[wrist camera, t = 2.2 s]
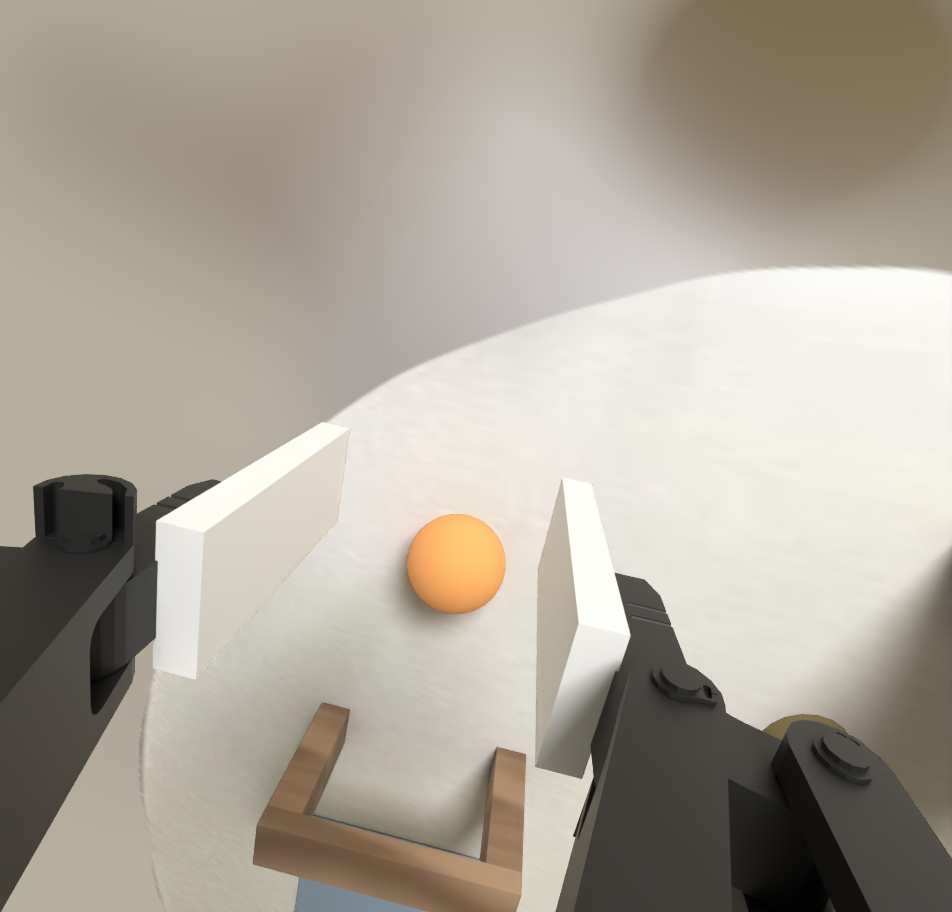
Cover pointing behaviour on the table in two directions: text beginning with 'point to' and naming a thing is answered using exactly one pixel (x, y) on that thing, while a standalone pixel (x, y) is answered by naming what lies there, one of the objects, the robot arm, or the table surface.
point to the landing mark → (346, 894)
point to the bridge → (384, 858)
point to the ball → (456, 564)
